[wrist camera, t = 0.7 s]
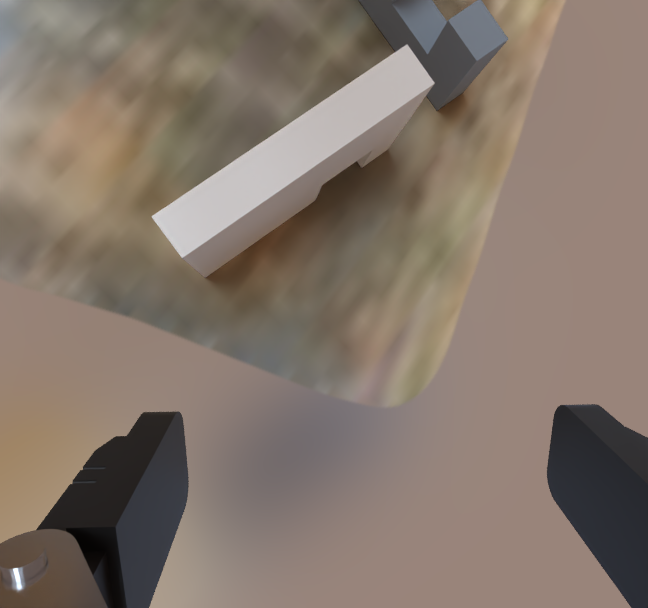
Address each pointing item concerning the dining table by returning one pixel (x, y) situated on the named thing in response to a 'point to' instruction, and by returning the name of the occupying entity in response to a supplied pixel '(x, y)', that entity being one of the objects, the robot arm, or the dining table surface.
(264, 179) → the white slotted plate
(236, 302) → the dining table surface
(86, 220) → the dining table surface
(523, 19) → the dining table surface
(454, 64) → the grey slotted plate
